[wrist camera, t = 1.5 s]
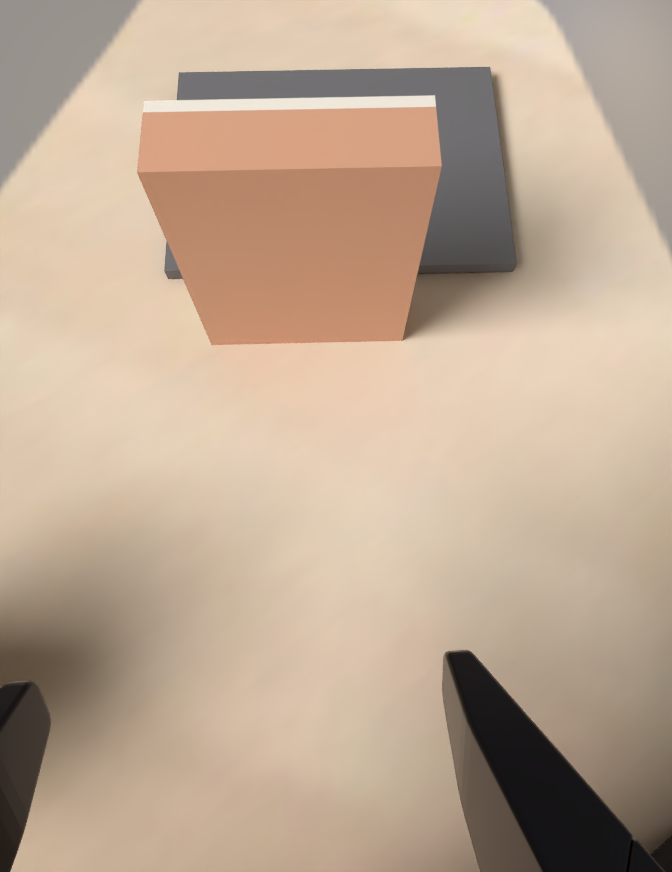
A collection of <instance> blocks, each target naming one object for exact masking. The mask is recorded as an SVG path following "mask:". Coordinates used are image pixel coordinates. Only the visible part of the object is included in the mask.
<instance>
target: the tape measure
mask: <svg viewBox="0 0 672 872" xmlns="http://www.w3.org/2000/svg"><path fill="white" fill-rule="evenodd" d="M651 856H652V857H653V858H654V860H655V861H656V862H657V863H658V864H659V865H660V866H661V867H662V868H663V870H664V871H665V872H672V836H671V837H670V838H669V839H667V840H666V841H665V842H664V843H663V844H662V845H661V846H660V847H659V848H658V849H657V850H656V851H654V852H653V853H652V854H651Z"/></svg>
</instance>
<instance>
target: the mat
mask: <svg viewBox="0 0 672 872" xmlns="http://www.w3.org/2000/svg"><path fill="white" fill-rule="evenodd" d="M430 95H435V101H436V111H437V122H438V132H439V143H440V153H441V164H442V167H441V172H440V176H439V181H438V185H437V190H436V194H435V198H434V203H433V207H432V212H431V216H430V220H429V225H428V229H427V234H426V238H425V243H424V247H423V251H422V256H421V260H420V265H419V269H418V273H461V272H509V271H513V270H514V268H515V266H516V264H517V263H516V256H515V248H514V241H513V233H512V226H511V218H510V211H509V204H508V196H507V189H506V181H505V174H504V166H503V159H502V152H501V144H500V137H499V129H498V122H497V114H496V107H495V100H494V92H493V85H492V77H491V70H490V67H459V68H404V69H349V70H294V71H239V72H185V73H179V79H178V92H177V100H217V99H270V98H324V97H377V96H430ZM164 271H165V273H166V275H167V277H168V279H174V278H183V277H182V275H181V273H180V270H179V268H178V266H177V263H176V261H175V259H174V256H173V254H172V252H171V249H170V247H169V245H168V243H166V256H165V270H164Z"/></svg>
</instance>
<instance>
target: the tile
mask: <svg viewBox="0 0 672 872" xmlns="http://www.w3.org/2000/svg"><path fill="white" fill-rule="evenodd" d="M441 167H442V164H441V153H440V143H439V132H438V122H437V111H436V101H435V95H430V96H377V97H324V98H270V99H217V100H164V101H144V106H143V116H142V127H141V137H140V148H139V158H138V169H137V173H138V175H139V178H140V180H141V182H142V185H143V187H144V189H145V192H146V194H147V196H148V198H149V201H150V203H151V205H152V208H153V210H154V212H155V215H156V217H157V219H158V222H159V224H160V226H161V229H162V231H163V233H164V236H165V238H166V240H167V243H168V245H169V247H170V249H171V252H172V254H173V256H174V259H175V261H176V263H177V266H178V268H179V270H180V273H181V275H182V277H183V280H184V282H185V284H186V287H187V289H188V291H189V294H190V296H191V298H192V300H193V303H194V305H195V307H196V310H197V312H198V314H199V317H200V319H201V321H202V324H203V326H204V328H205V331H206V333H207V335H208V338H209V340H210V342H211V345H223V344H269V343H314V342H360V341H402V340H403V335H404V331H405V326H406V322H407V318H408V313H409V309H410V304H411V300H412V296H413V291H414V287H415V282H416V278H417V273H418V269H419V265H420V260H421V256H422V251H423V247H424V243H425V238H426V234H427V229H428V225H429V220H430V216H431V212H432V207H433V203H434V198H435V194H436V190H437V185H438V181H439V176H440V172H441Z"/></svg>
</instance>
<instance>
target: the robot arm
mask: <svg viewBox="0 0 672 872" xmlns="http://www.w3.org/2000/svg"><path fill="white" fill-rule="evenodd" d="M442 693H443V702H444V708H445V714H446V720H447V726H448V732H449V738H450V743H451V749H452V755H453V761H454V767H455V773H456V779H457V785H458V790H459V795H460V799H461V804H462V808H463V812H464V816H465V819H466V823H467V826H468V830H469V833H470V837H471V840H472V844H473V847H474V851H475V854H476V858H477V862H478V865H479V869H480V872H665V871H664V870H663V868H662V867H661V866H660V865H659V864H658V863H657V862H656V861H655V860H654V858H653V857H652V856H651V855H650V854H649V853H648V851H647V850H646V849H645V848H644V847H643V846H642V845H641V843H640V842H639V841H638V840H636V839H634V840H632V837H633V836H632V834H631V832H630V831H629V830H628V829H627V828H626V827H625V826H624V824H623V823H622V822H621V821H620V820H619V819H618V818H617V816H616V815H615V814H614V813H613V812H612V811H611V810H610V809H609V807H608V806H607V805H606V804H605V803H604V802H603V801H602V799H601V798H600V797H599V796H598V795H597V794H596V793H595V791H594V790H593V789H592V788H591V787H590V786H589V785H588V784H587V782H586V781H585V780H584V779H583V778H582V777H581V776H580V774H579V773H578V772H577V771H576V770H575V769H574V768H573V766H572V765H571V764H570V763H569V762H568V761H567V760H566V759H565V757H564V756H563V755H562V754H561V753H560V752H559V751H558V749H557V748H556V747H555V746H554V745H553V744H552V743H551V741H550V740H549V739H548V738H547V737H546V736H545V735H544V733H543V732H542V731H541V730H540V729H539V728H538V727H537V726H536V724H535V723H534V722H533V721H532V720H531V719H530V718H529V716H528V715H527V714H526V713H525V712H524V711H523V710H522V708H521V707H520V706H519V705H518V704H517V703H516V702H515V701H514V699H513V698H512V697H511V696H510V695H509V694H508V693H507V691H506V690H505V689H504V688H503V687H502V686H501V685H500V683H499V682H498V681H497V680H496V679H495V678H494V677H493V676H492V674H491V673H490V672H489V671H488V670H487V669H486V668H485V666H484V665H483V664H482V663H481V662H480V661H479V660H478V658H477V657H476V656H475V655H474V654H473V653H472V652H471V651H469V650H458V651H448V652H446V653H445V654H444V657H443V681H442ZM50 725H51V719H50V714H49V711H48V708H47V706H46V703H45V701H44V698H43V696H42V693H41V691H40V688H39V686H38V684H37V683H36V682H35V681H32V680H25V681H12V682H8V683H6V684H5V685H3V686H2V687H1V688H0V872H10V871H11V868H12V865H13V862H14V860H15V857H16V854H17V851H18V848H19V845H20V842H21V839H22V836H23V833H24V830H25V826H26V823H27V819H28V815H29V811H30V807H31V803H32V799H33V795H34V792H35V788H36V784H37V780H38V776H39V772H40V768H41V764H42V760H43V756H44V752H45V748H46V744H47V740H48V736H49V732H50Z"/></svg>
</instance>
